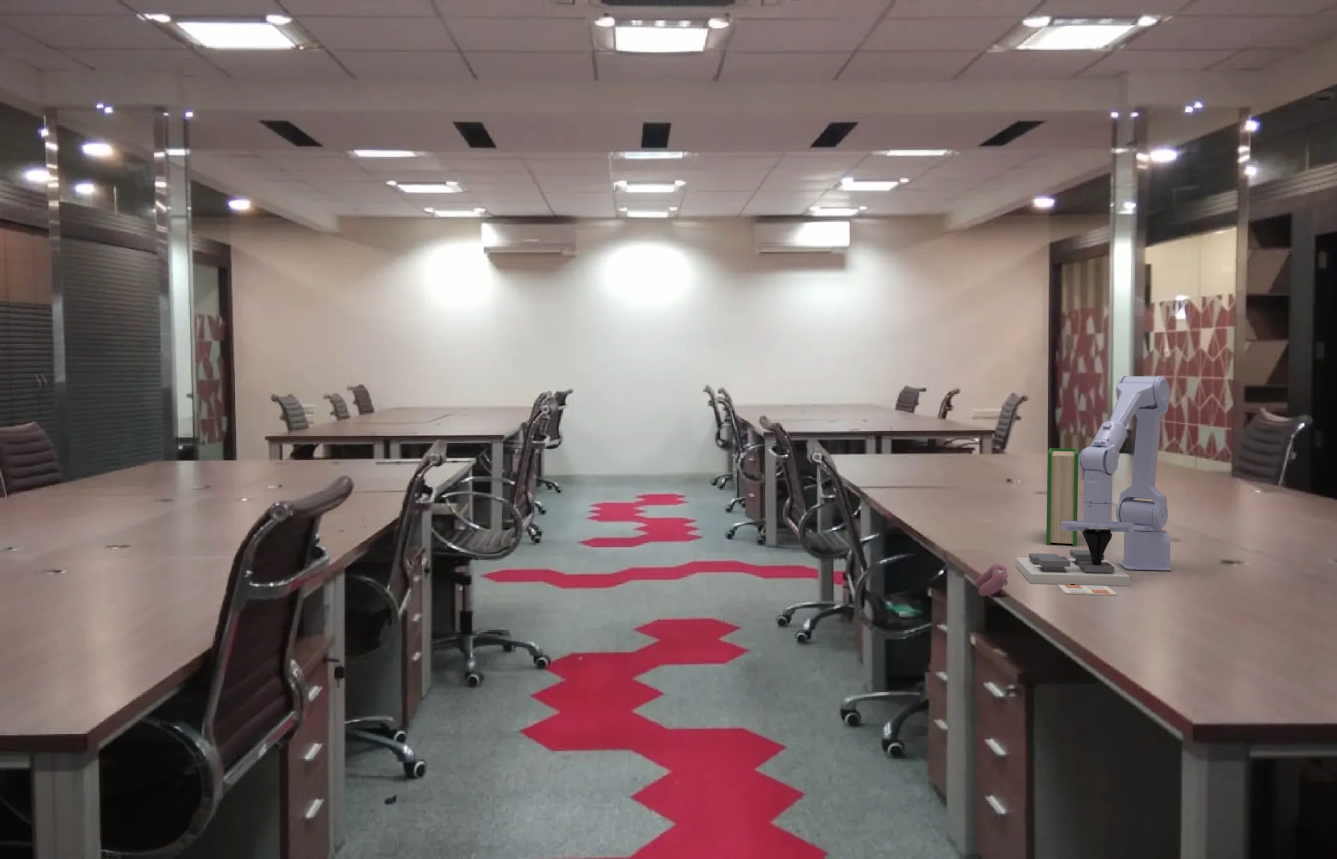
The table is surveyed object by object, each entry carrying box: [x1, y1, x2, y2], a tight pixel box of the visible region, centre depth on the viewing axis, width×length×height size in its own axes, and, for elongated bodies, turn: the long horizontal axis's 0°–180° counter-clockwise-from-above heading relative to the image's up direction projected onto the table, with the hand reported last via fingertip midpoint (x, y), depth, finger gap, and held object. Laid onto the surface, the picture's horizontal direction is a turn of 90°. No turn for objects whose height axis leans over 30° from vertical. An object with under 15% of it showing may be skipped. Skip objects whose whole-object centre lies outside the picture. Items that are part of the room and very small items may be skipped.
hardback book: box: [1045, 447, 1079, 548], centre depth 281 cm, size 18×7×24 cm, turn 159°
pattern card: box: [1056, 584, 1118, 596], centre depth 219 cm, size 10×8×1 cm
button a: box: [1069, 549, 1105, 565], centre depth 238 cm, size 6×6×3 cm
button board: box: [1015, 557, 1131, 587], centre depth 235 cm, size 20×20×2 cm
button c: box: [1079, 561, 1115, 573], centre depth 229 cm, size 6×6×3 cm
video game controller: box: [974, 563, 1009, 597], centre depth 218 cm, size 10×5×7 cm, turn 169°
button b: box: [1028, 552, 1059, 564], centre depth 240 cm, size 6×6×3 cm
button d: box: [1036, 555, 1071, 572], centre depth 231 cm, size 6×6×3 cm
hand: (1096, 564), depth 229 cm, fingers closed, pressing on button c
